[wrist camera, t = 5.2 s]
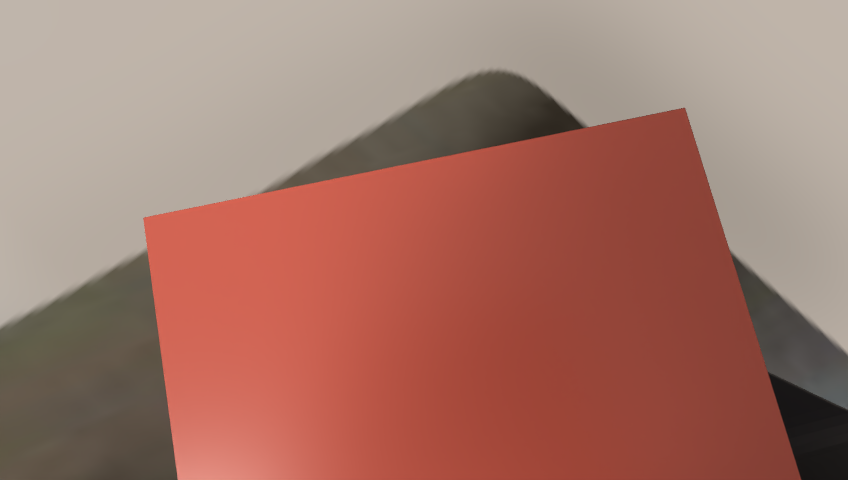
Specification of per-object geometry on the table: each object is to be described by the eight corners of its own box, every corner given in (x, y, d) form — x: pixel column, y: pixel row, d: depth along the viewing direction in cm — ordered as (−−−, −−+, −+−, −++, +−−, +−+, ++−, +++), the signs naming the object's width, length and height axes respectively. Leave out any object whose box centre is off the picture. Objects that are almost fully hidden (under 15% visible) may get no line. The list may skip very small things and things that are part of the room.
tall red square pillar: (496, 362, 16) (871, 702, 3) (385, 388, 15) (231, 886, 3) (470, 252, 16) (684, 107, 3) (363, 275, 16) (142, 217, 3)
